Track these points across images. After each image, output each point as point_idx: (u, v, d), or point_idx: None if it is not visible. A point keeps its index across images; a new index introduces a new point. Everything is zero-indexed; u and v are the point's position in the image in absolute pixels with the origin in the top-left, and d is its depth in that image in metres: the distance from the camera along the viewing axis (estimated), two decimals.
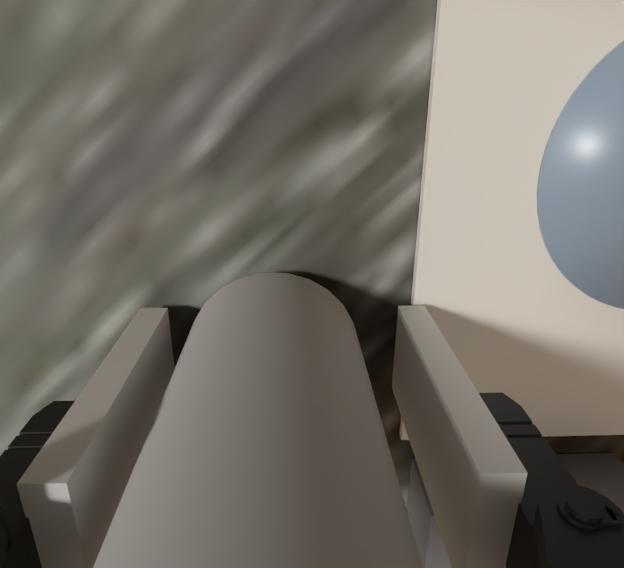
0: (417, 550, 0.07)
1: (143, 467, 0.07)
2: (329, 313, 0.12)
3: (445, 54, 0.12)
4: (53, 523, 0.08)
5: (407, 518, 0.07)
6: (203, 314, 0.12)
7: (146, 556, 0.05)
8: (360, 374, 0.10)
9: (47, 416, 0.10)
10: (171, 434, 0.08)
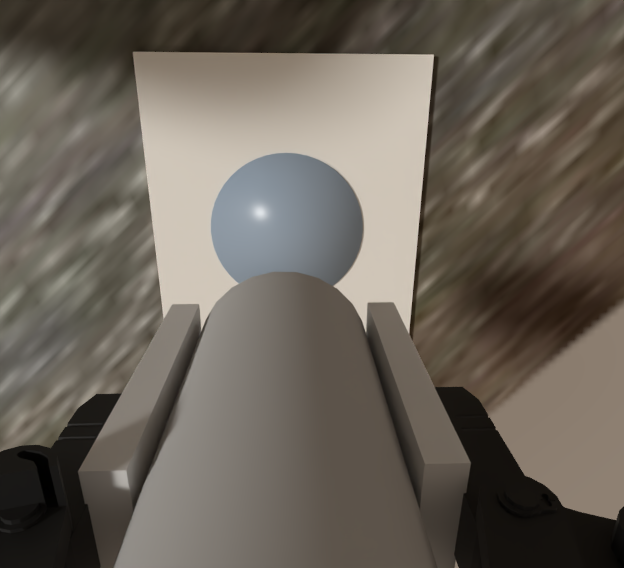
0: (428, 539, 0.07)
1: (162, 460, 0.08)
2: (338, 312, 0.12)
3: (151, 177, 0.25)
4: (110, 510, 0.08)
5: (418, 509, 0.08)
6: (215, 313, 0.13)
7: (170, 542, 0.06)
8: (370, 370, 0.10)
9: (91, 408, 0.10)
10: (189, 428, 0.08)
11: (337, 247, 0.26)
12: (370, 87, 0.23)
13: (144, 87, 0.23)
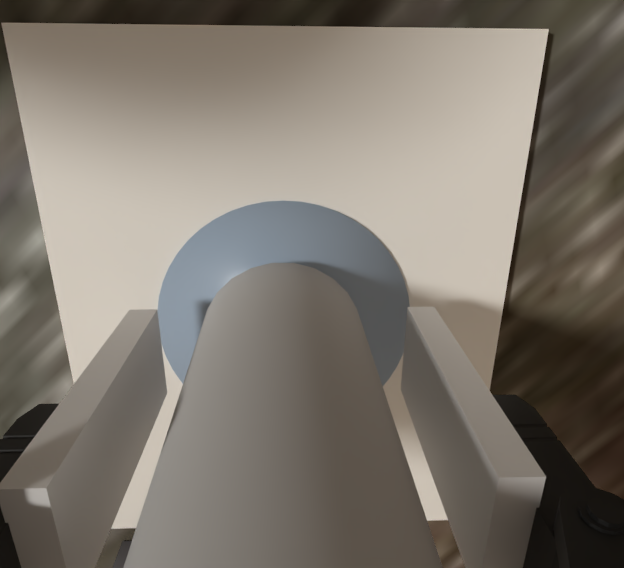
0: (421, 504, 0.08)
1: (176, 437, 0.08)
2: (334, 300, 0.13)
3: (53, 242, 0.14)
4: (33, 528, 0.08)
5: (411, 478, 0.08)
6: (217, 303, 0.13)
7: (190, 505, 0.06)
8: (365, 354, 0.11)
9: (31, 419, 0.10)
10: (200, 408, 0.08)
11: None
12: (432, 88, 0.13)
13: (29, 87, 0.13)
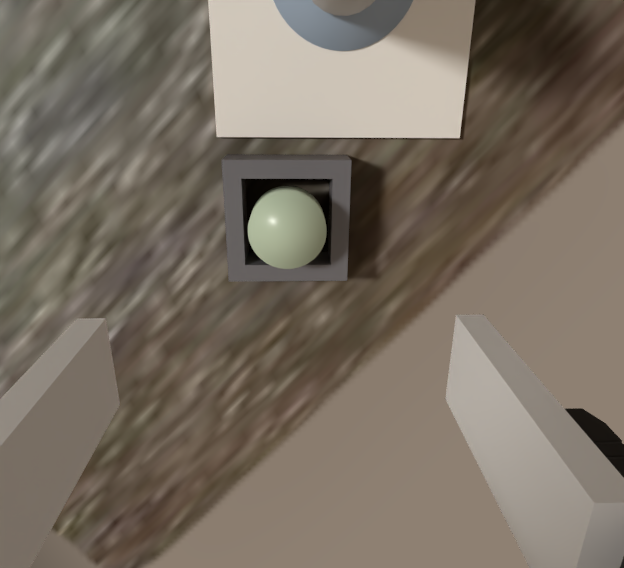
0: None
1: None
2: None
3: None
4: None
5: None
6: None
7: None
8: None
9: None
10: None
11: None
12: None
13: None
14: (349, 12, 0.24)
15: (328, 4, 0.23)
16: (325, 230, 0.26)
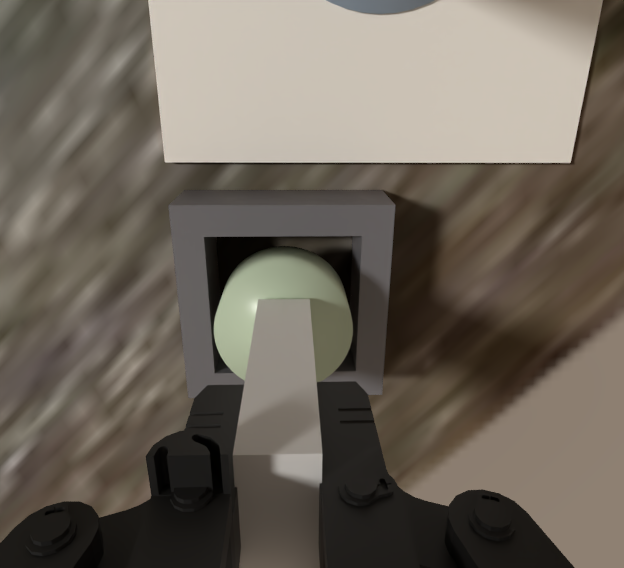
0: None
1: None
2: None
3: None
4: (258, 492, 0.08)
5: None
6: None
7: None
8: None
9: (208, 398, 0.11)
10: None
11: None
12: None
13: None
14: None
15: None
16: (350, 329, 0.15)
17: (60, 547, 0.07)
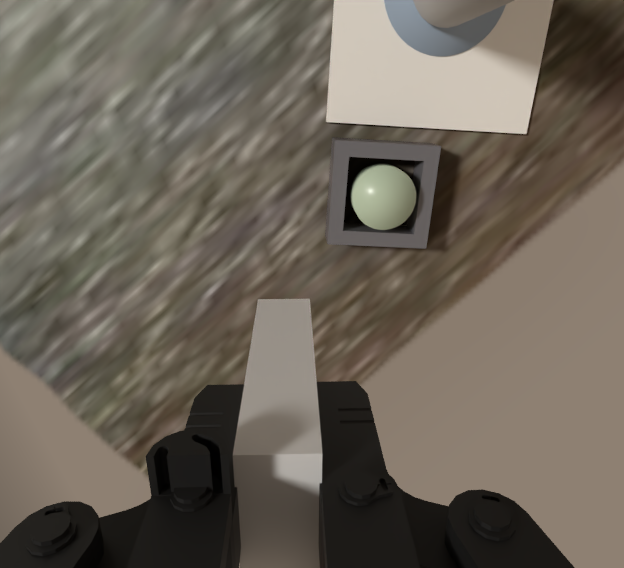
0: None
1: None
2: None
3: None
4: (257, 492, 0.08)
5: None
6: None
7: None
8: None
9: (208, 398, 0.11)
10: None
11: None
12: None
13: None
14: (452, 25, 0.30)
15: (440, 18, 0.29)
16: (415, 199, 0.32)
17: (60, 547, 0.07)
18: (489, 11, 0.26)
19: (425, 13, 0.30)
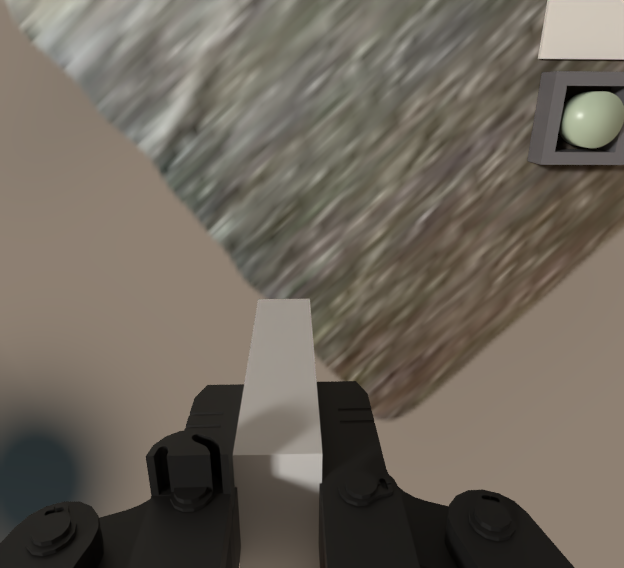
0: None
1: None
2: None
3: None
4: (258, 492, 0.08)
5: None
6: None
7: None
8: None
9: (208, 398, 0.11)
10: None
11: None
12: None
13: None
14: None
15: None
16: (623, 119, 0.38)
17: (60, 547, 0.07)
18: None
19: None
